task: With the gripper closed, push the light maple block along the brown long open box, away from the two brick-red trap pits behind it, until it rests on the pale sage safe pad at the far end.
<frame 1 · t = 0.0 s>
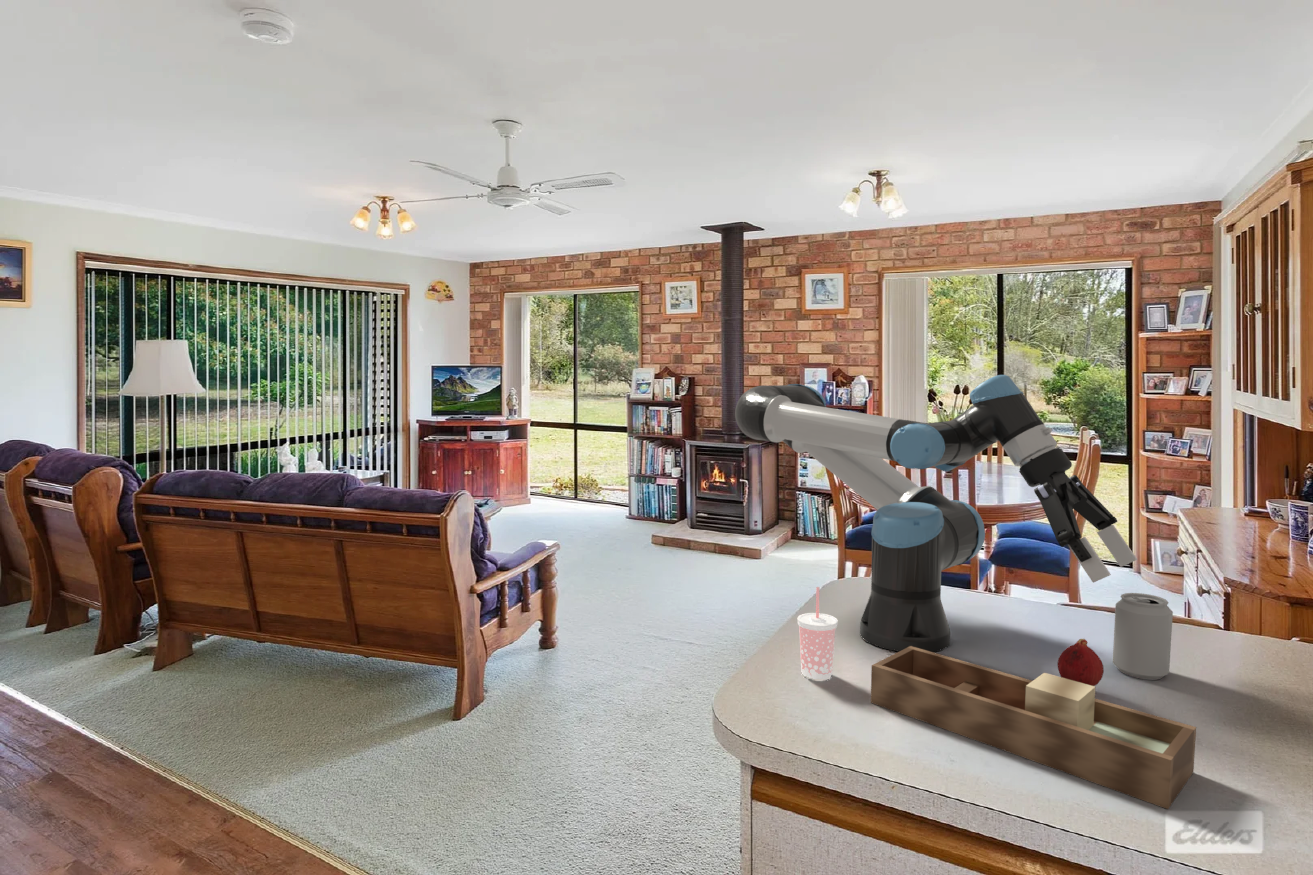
hand: (1116, 570, 120), 15 cm above the kitchen counter, tool tilted 35°, fingers open, 13 cm apart
beverage cup: (816, 676, 117), on the kitchen counter
maple block: (1058, 724, 94), point 3 cm above the kitchen counter, touching brown long open box
onion: (1078, 693, 111), on the kitchen counter
can: (1140, 673, 118), on the kitchen counter
brown long open box: (1016, 733, 98), on the kitchen counter
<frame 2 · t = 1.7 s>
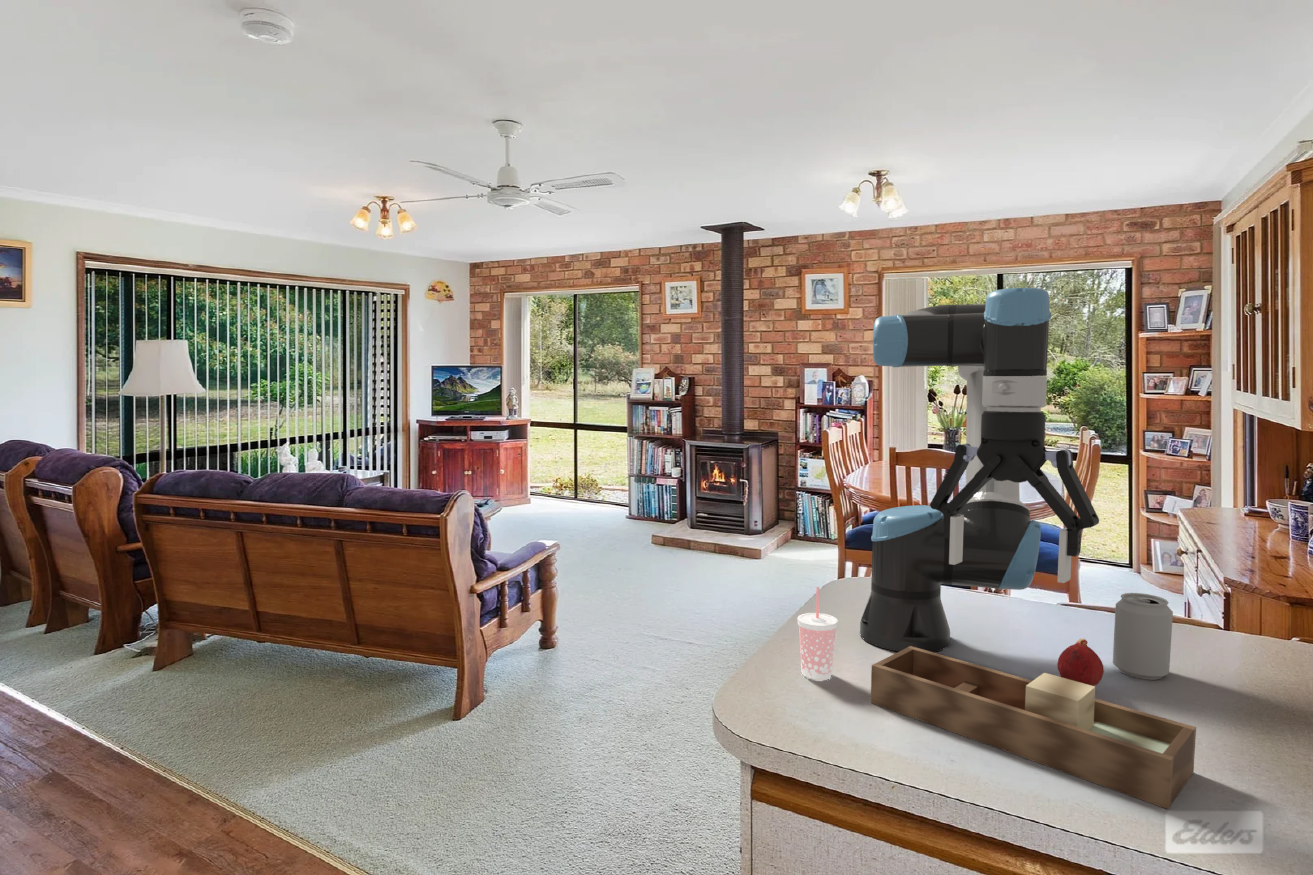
hand: (1007, 571, 99), 21 cm above the kitchen counter, tool pointing down, fingers open, 13 cm apart
nothing on the kitchen counter moved.
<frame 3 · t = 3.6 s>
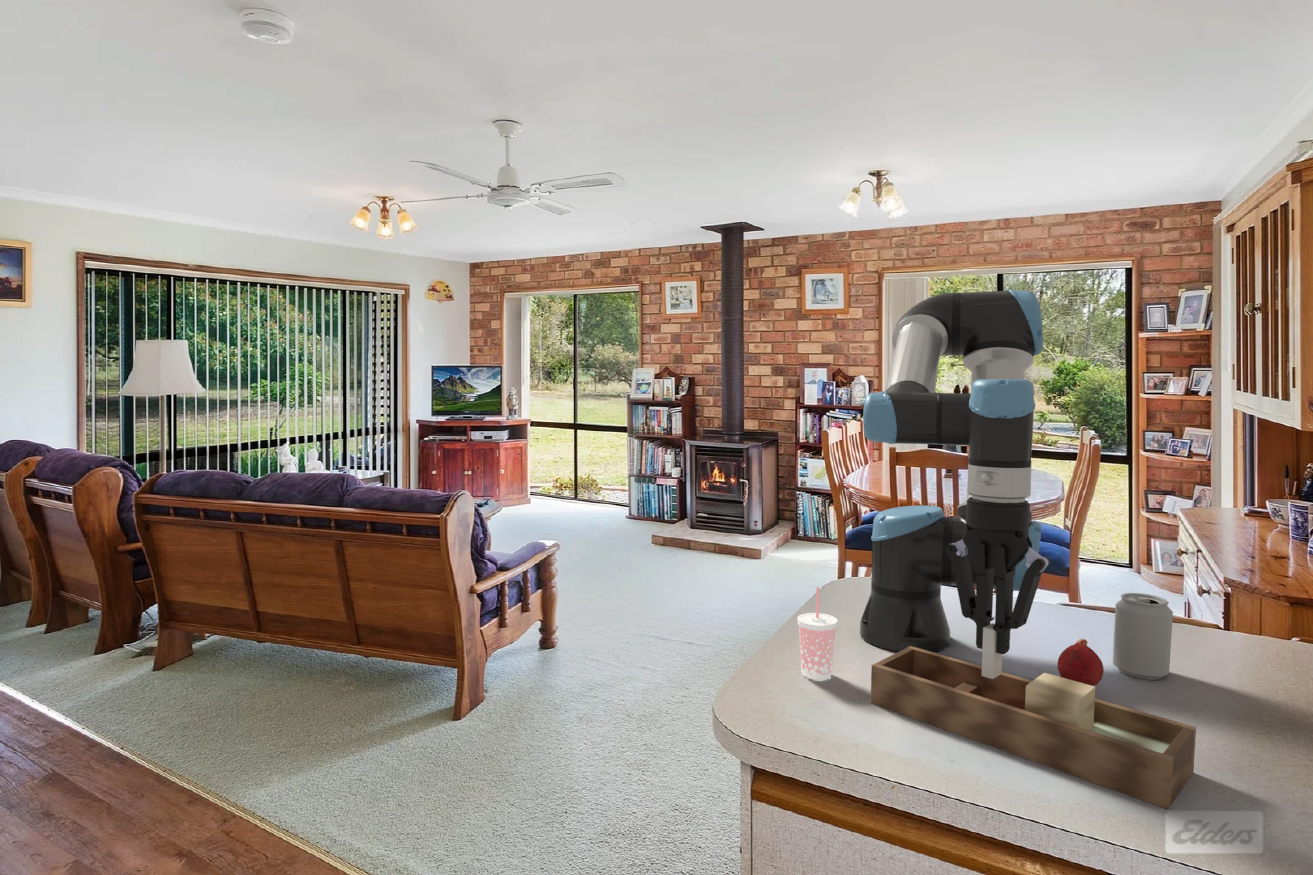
hand: (991, 674, 99), 7 cm above the kitchen counter, tool pointing down, fingers closed
nothing on the kitchen counter moved.
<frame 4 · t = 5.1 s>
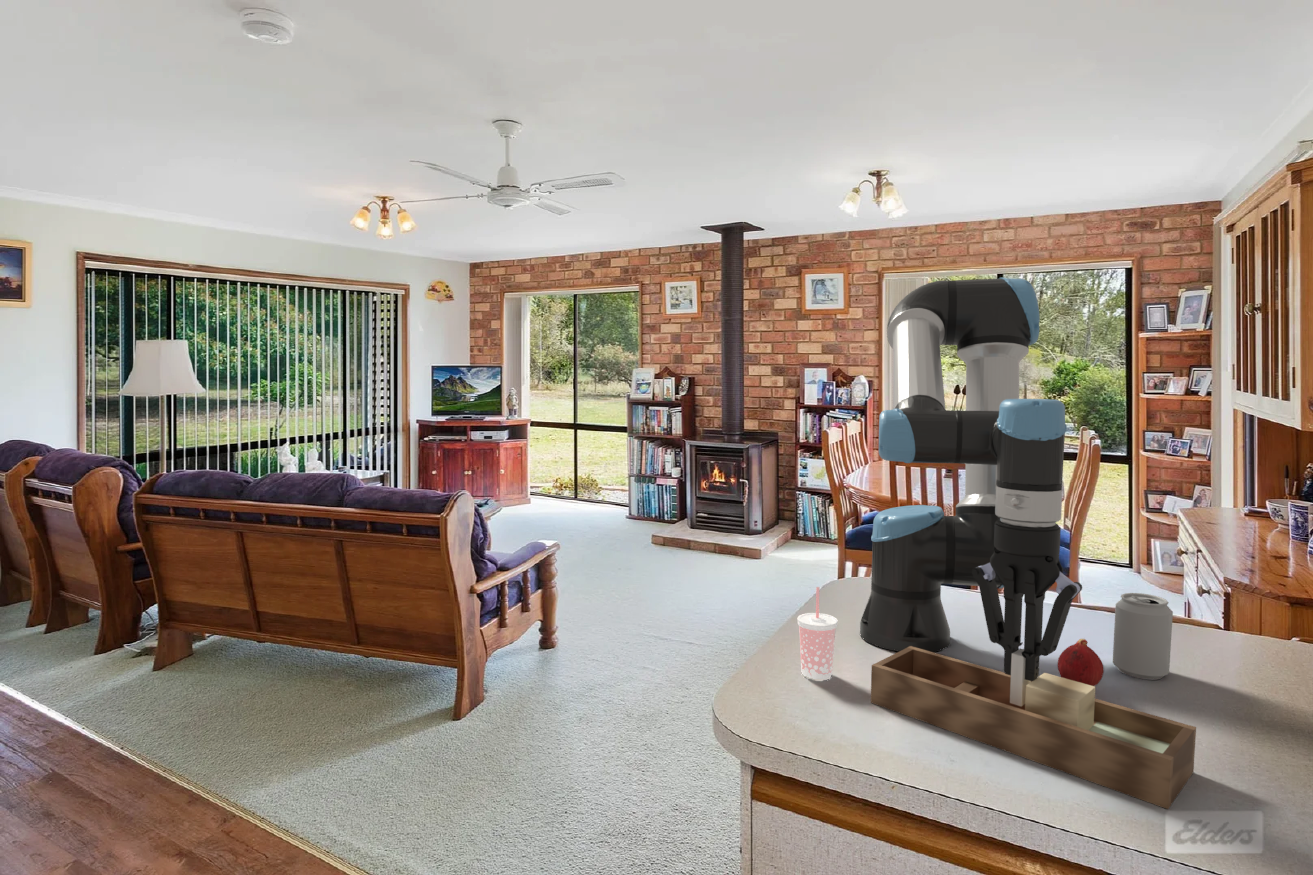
hand: (1019, 701, 97), 5 cm above the kitchen counter, tool pointing down, fingers closed
maple block: (1058, 724, 94), point 3 cm above the kitchen counter, touching gripper, brown long open box
everything else where it was.
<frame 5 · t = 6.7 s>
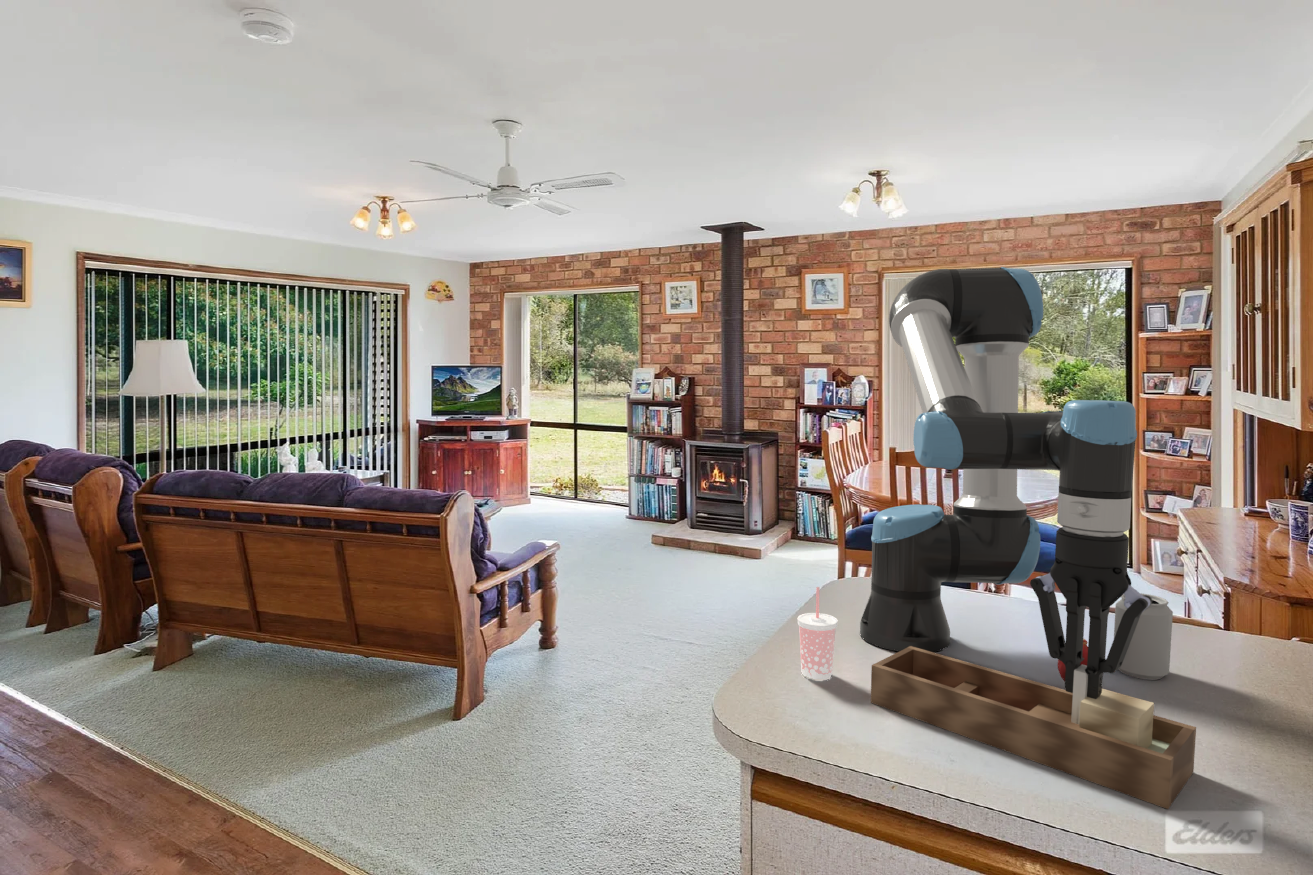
hand: (1081, 720, 92), 5 cm above the kitchen counter, tool pointing down, fingers closed
maple block: (1115, 742, 89), point 3 cm above the kitchen counter, touching gripper, brown long open box
everything else where it was.
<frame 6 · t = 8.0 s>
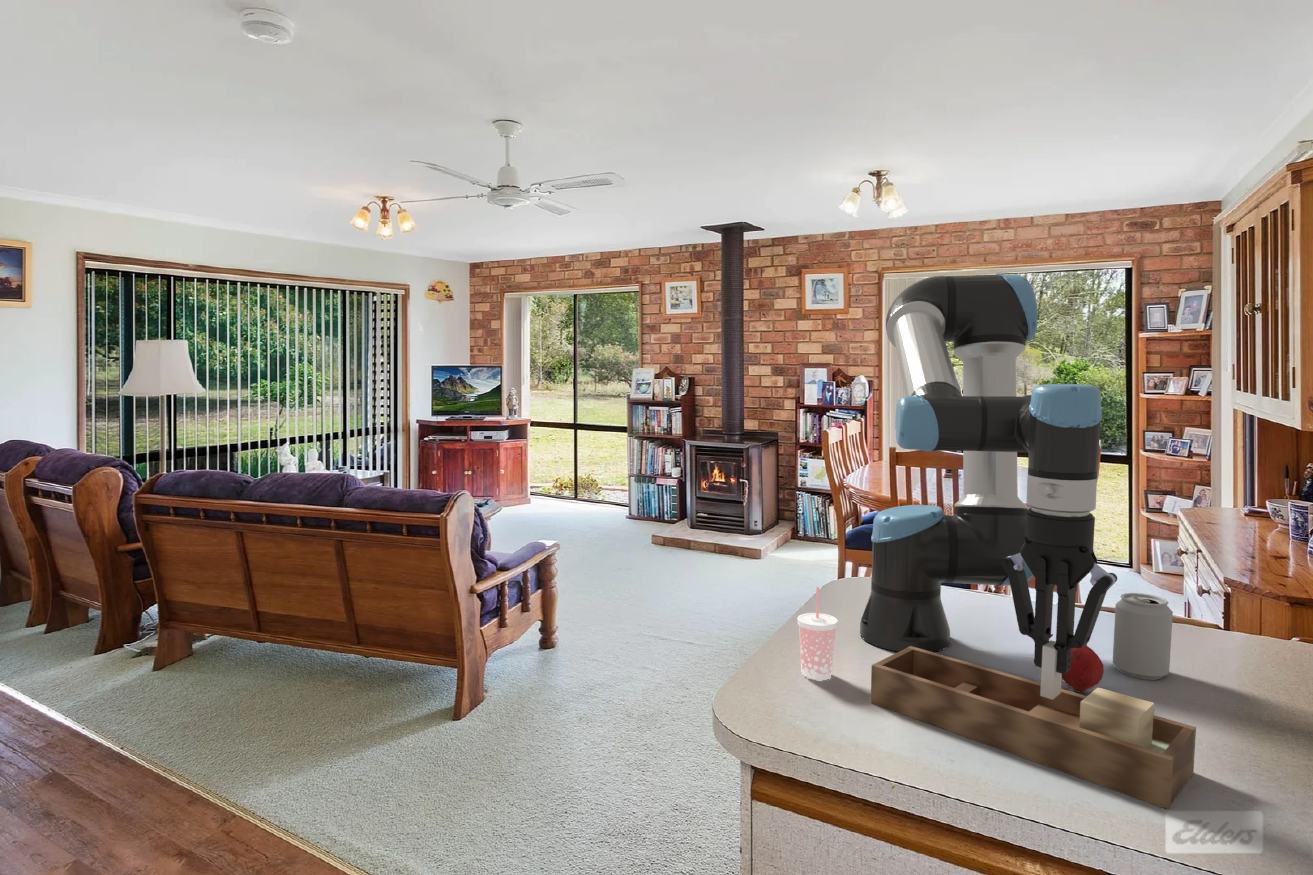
hand: (1050, 694, 95), 6 cm above the kitchen counter, tool pointing down, fingers closed
maple block: (1115, 742, 89), point 3 cm above the kitchen counter, touching brown long open box
everything else where it was.
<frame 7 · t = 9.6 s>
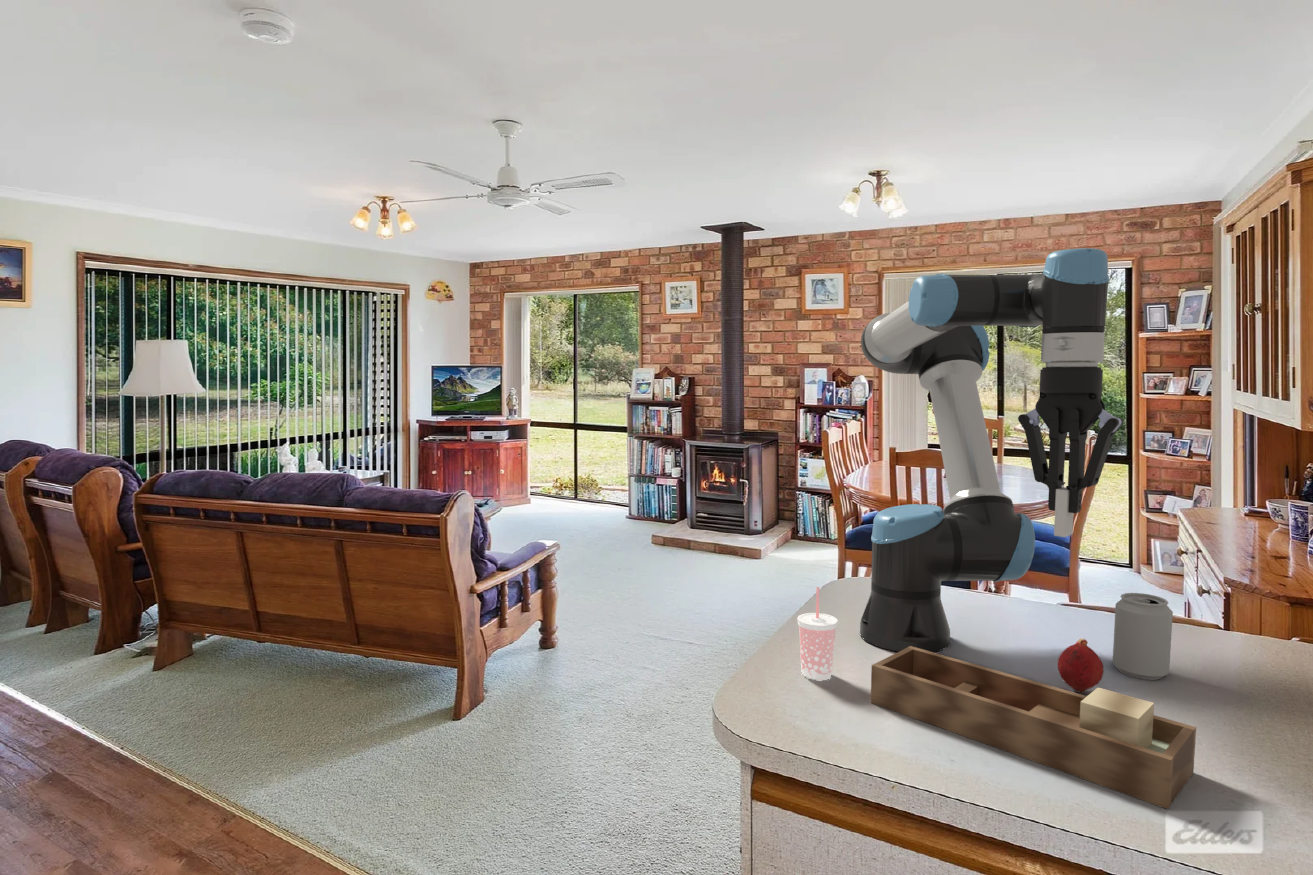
hand: (1063, 534, 105), 24 cm above the kitchen counter, tool pointing down, fingers closed
nothing on the kitchen counter moved.
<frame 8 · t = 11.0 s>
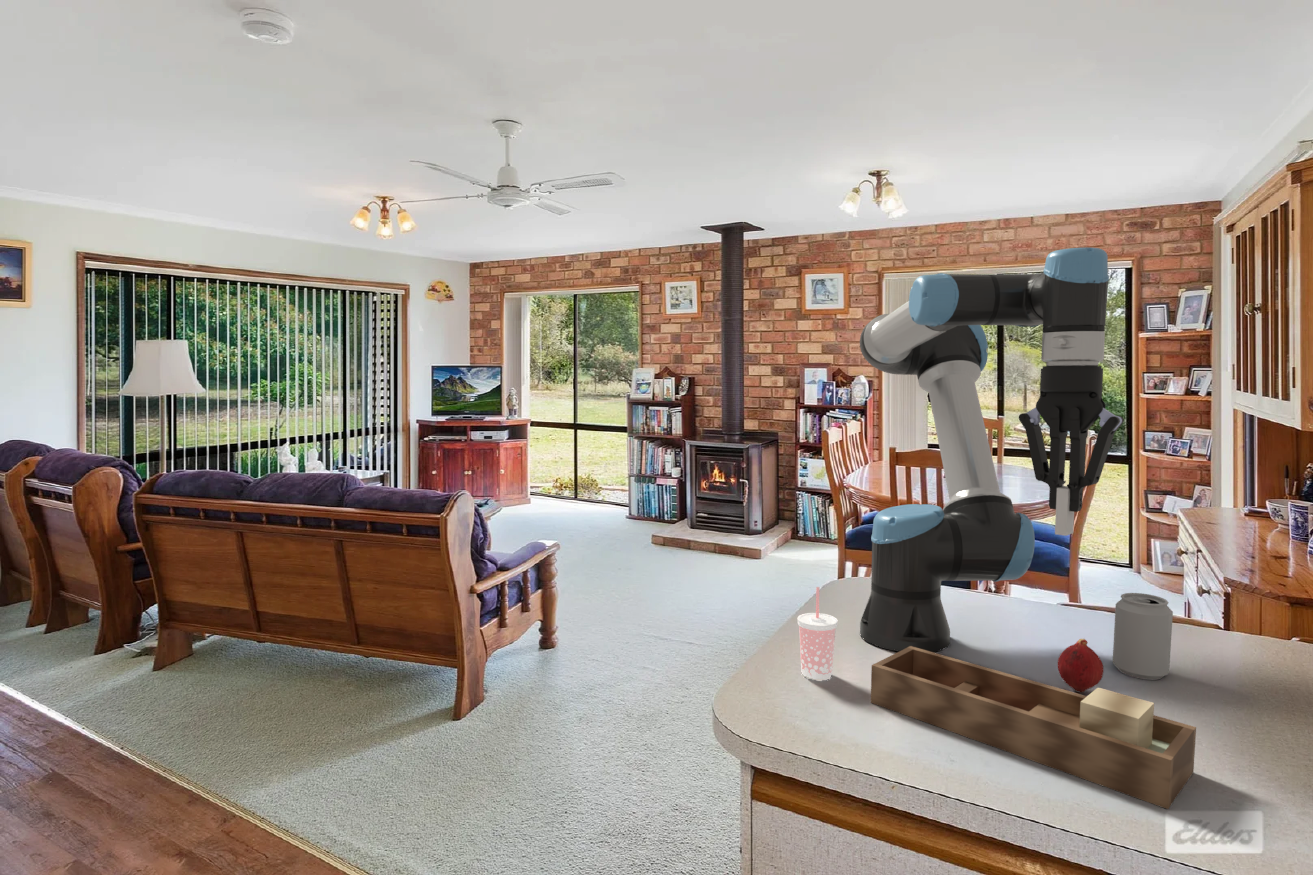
hand: (1064, 533, 105), 24 cm above the kitchen counter, tool pointing down, fingers closed
nothing on the kitchen counter moved.
at the end: maple block 2.0 cm from the target spot, point 3.0 cm above the kitchen counter; maple block tilted 0° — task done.
